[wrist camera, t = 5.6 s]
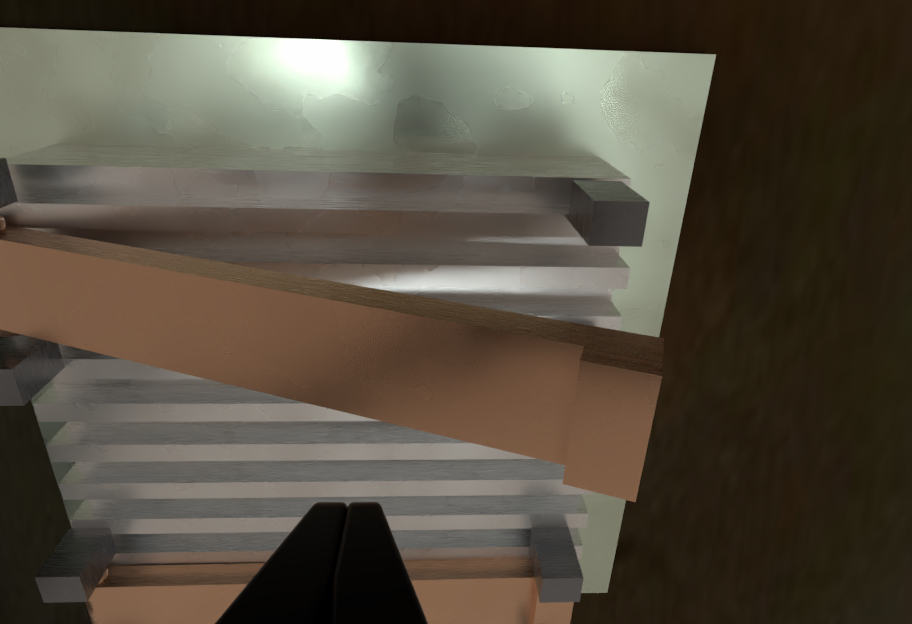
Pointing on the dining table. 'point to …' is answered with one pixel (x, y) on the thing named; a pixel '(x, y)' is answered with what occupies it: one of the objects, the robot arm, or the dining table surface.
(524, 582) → the strap
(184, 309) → the strap
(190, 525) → the heat sink board
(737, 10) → the dining table surface
